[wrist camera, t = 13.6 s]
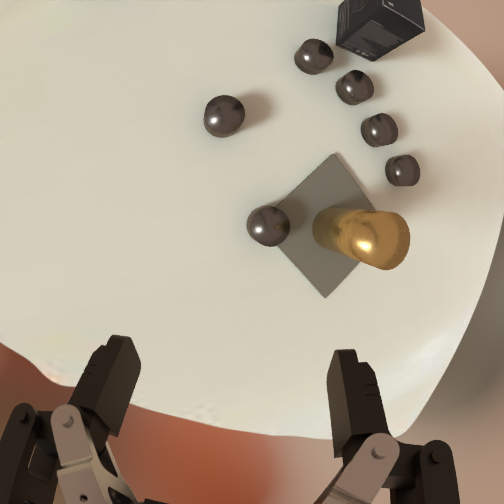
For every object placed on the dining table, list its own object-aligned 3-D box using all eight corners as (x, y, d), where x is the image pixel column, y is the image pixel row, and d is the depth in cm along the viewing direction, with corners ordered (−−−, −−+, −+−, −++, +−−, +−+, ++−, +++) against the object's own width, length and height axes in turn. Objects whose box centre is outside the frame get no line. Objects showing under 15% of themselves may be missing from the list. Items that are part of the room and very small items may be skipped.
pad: (257, 224, 29) (258, 225, 28) (331, 154, 29) (333, 153, 29) (323, 296, 32) (325, 298, 31) (385, 228, 32) (388, 229, 31)
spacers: (164, 146, 26) (162, 141, 23) (313, 36, 26) (322, 26, 24) (303, 292, 31) (312, 299, 29) (416, 167, 32) (429, 166, 29)
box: (373, 63, 28) (427, 32, 18) (334, 45, 27) (382, 4, 17) (374, 22, 27) (419, -12, 17) (337, 5, 26) (378, -37, 16)
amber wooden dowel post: (303, 227, 29) (356, 240, 20) (332, 198, 29) (392, 200, 20) (329, 257, 30) (385, 281, 21) (355, 229, 31) (417, 241, 21)
